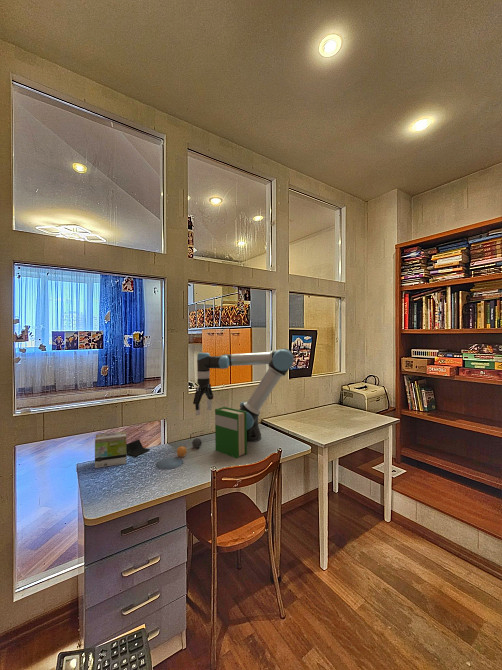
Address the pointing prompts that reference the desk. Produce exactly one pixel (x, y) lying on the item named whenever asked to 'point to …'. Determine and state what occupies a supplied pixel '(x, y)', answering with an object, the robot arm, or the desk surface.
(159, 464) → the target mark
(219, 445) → the hardback book
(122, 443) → the tea box
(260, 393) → the robot arm
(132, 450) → the black bookend
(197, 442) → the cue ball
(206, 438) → the desk surface
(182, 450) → the orange ball
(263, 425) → the desk surface
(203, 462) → the desk surface
